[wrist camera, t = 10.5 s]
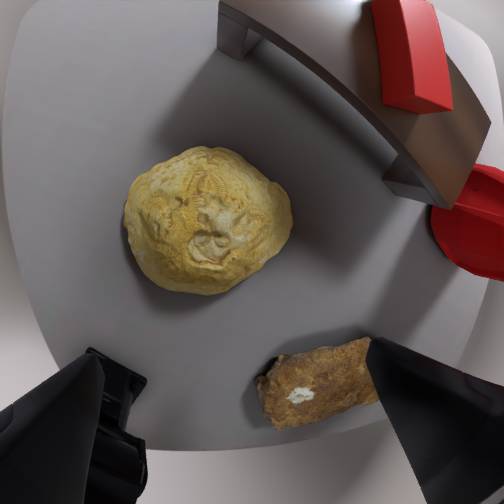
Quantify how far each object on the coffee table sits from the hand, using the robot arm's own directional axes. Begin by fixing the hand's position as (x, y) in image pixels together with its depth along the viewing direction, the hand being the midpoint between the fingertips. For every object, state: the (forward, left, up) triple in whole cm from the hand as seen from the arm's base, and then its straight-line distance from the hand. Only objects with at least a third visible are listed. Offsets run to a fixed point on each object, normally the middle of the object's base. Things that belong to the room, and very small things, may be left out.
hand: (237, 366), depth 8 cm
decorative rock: (-5, -16, -13) cm, 21 cm away
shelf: (+16, 0, -12) cm, 20 cm away
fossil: (+1, +2, -13) cm, 13 cm away
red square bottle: (+16, 0, -6) cm, 17 cm away
